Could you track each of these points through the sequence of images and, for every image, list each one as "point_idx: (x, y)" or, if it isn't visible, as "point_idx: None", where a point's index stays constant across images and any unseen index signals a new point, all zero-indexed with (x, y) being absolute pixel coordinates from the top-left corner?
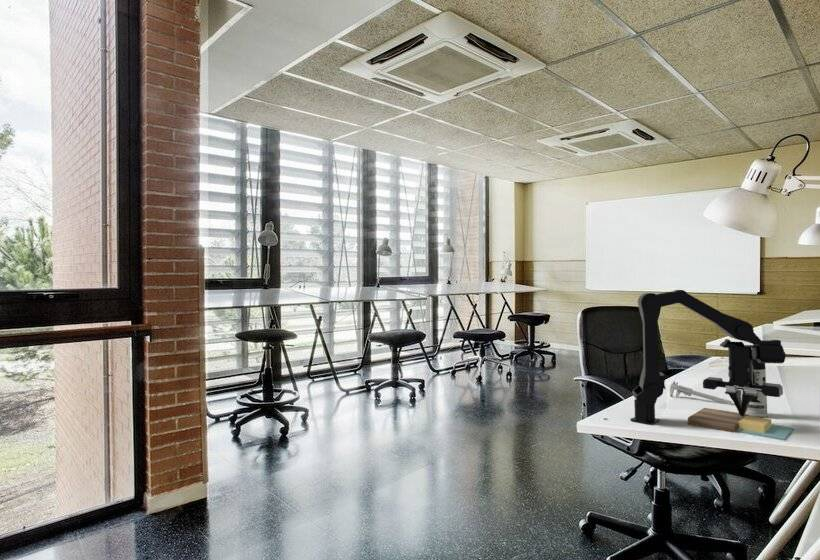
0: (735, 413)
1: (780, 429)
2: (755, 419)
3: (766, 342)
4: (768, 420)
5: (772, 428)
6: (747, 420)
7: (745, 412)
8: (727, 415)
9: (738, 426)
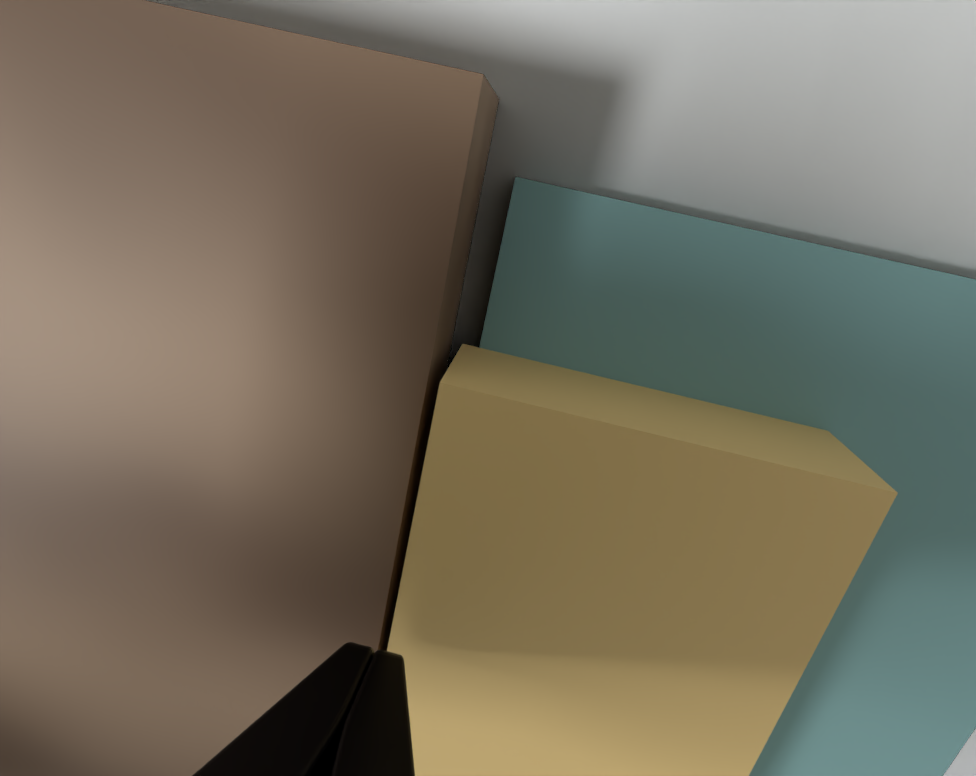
0: (215, 148)
1: (919, 569)
2: (587, 625)
3: None
4: (812, 608)
5: None
6: (462, 732)
7: (404, 728)
8: (133, 426)
9: None
